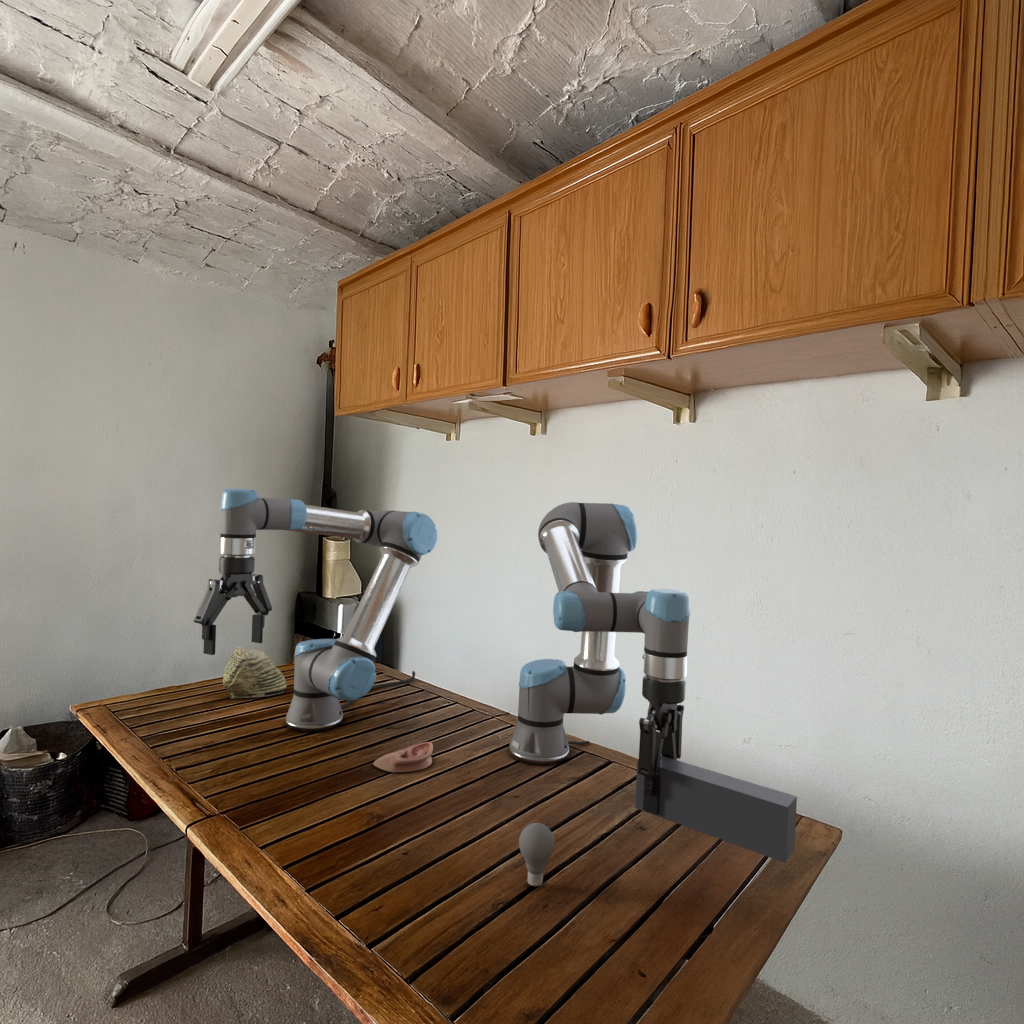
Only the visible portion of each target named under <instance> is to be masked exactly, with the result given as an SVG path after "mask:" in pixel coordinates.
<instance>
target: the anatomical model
mask: <svg viewBox="0 0 1024 1024" xmlns="http://www.w3.org/2000/svg"><path fill="white" fill-rule="evenodd" d="M433 751H434V744H433V743H432V742H430V741H426V742H422V743H418V744H414V745H411V746H408V747H406V748H403V749H401V750H397V751H394V752H390V753H387V754H385V755H382V756H381V757H378V758H377V759H375V760H374V762H373V763H372V764H373V766H374V767H375V768H378V769H380V770H382V771H385V772H388V773H408V772H416V771H420V770H424V769H426V768H428V767H430V766H431V765H432V763H433V758H432V756H431V755H432V754H433Z"/></svg>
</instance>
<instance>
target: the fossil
mask: <svg viewBox="0 0 1024 1024" xmlns="http://www.w3.org/2000/svg"><path fill="white" fill-rule="evenodd" d="M222 676H223V677H222V685H223V687H224V688H225V690H226V691H228V693H229V698H230V699H250V698H264V697H271V696H275V695H281V694H284V693H285V691H286V689H287V687H288V686H287V680H286V678H285V676H284V674H283V673H282V672H281V669H279V668H278V667H277V665H276V663H275V662H274V660H273V659H272V658H271V657H270V656H269V655H268V654H267V653H266V652H265V650H264V649H263V648H260V647H258V648H251V647H247V646H246V647H245V646H238V647H237V648H236V649H235V650H233V651H232V653H231V656H230V657H229V659H228V660H227V663H226V666H225V668H224V671H223V675H222Z"/></svg>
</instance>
